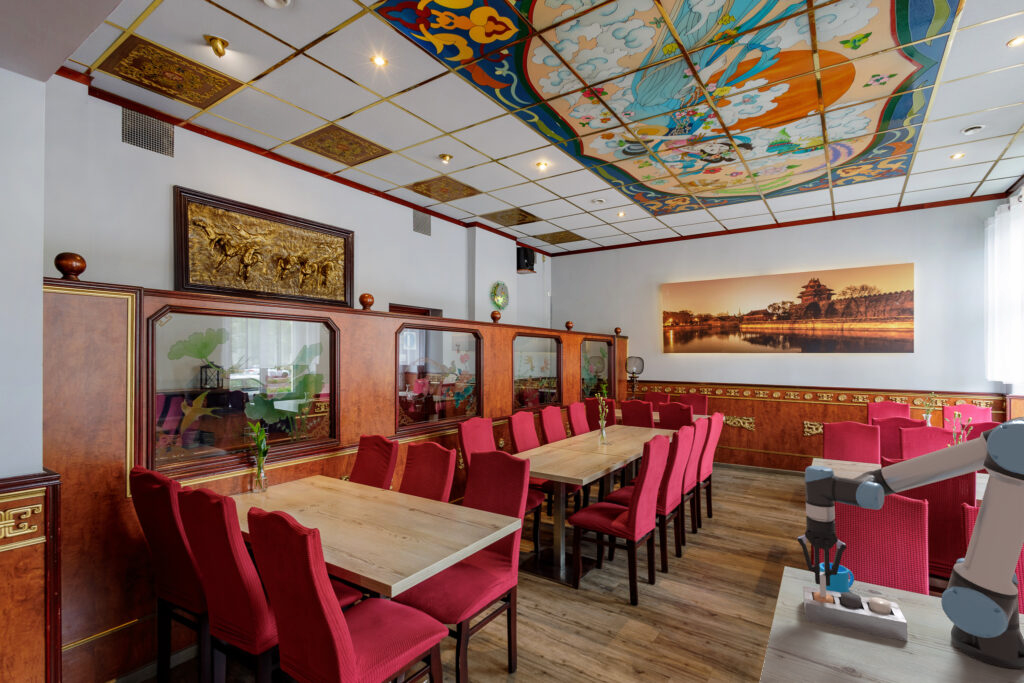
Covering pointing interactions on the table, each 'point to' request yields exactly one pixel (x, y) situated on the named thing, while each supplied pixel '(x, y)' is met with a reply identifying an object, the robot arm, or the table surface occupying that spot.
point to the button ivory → (879, 605)
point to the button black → (850, 600)
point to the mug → (839, 579)
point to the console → (854, 615)
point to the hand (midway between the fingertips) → (823, 595)
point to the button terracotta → (823, 598)
